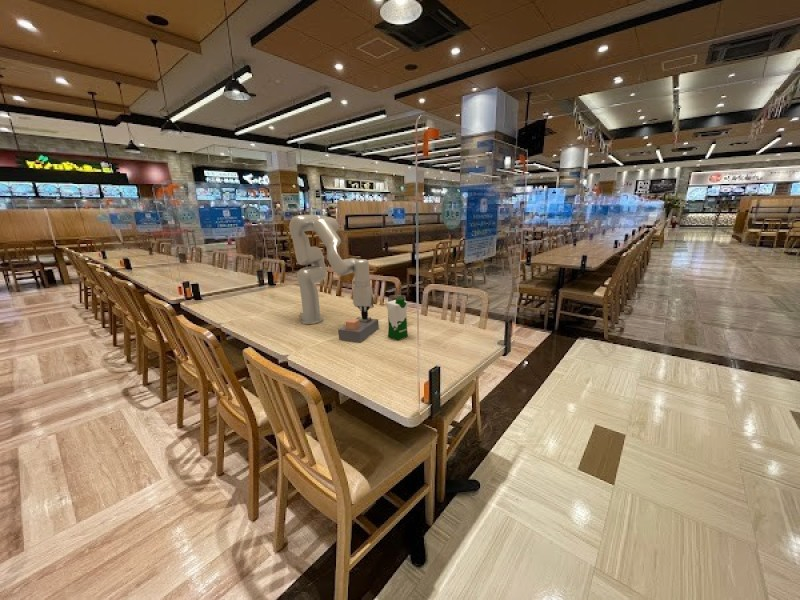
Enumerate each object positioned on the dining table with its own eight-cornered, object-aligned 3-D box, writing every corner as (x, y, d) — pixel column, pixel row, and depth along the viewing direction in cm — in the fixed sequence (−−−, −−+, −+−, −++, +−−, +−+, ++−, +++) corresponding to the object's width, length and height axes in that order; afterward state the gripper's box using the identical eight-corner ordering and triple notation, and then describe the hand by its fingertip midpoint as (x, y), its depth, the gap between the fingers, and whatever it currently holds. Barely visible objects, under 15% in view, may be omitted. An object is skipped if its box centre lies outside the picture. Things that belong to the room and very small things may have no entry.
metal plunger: (358, 328, 167) (357, 319, 166) (363, 325, 171) (362, 316, 170) (366, 329, 165) (366, 319, 164) (371, 325, 169) (370, 317, 168)
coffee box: (406, 322, 179) (405, 294, 175) (405, 326, 173) (404, 297, 169) (390, 322, 180) (389, 294, 176) (389, 326, 174) (387, 297, 169)
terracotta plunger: (346, 331, 156) (345, 321, 154) (351, 327, 160) (350, 318, 159) (355, 332, 154) (354, 322, 152) (360, 329, 158) (359, 319, 157)
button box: (339, 339, 157) (338, 329, 155) (359, 326, 174) (358, 317, 173) (360, 342, 152) (359, 332, 151) (378, 329, 170) (378, 319, 169)
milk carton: (398, 341, 152) (397, 301, 147) (385, 337, 158) (383, 298, 153) (410, 336, 159) (409, 297, 153) (397, 332, 165) (396, 294, 159)
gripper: (346, 284, 161) (348, 319, 166) (372, 286, 156) (374, 321, 161) (353, 281, 168) (356, 314, 173) (378, 283, 163) (380, 317, 167)
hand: (364, 318), depth 167 cm, fingers closed
